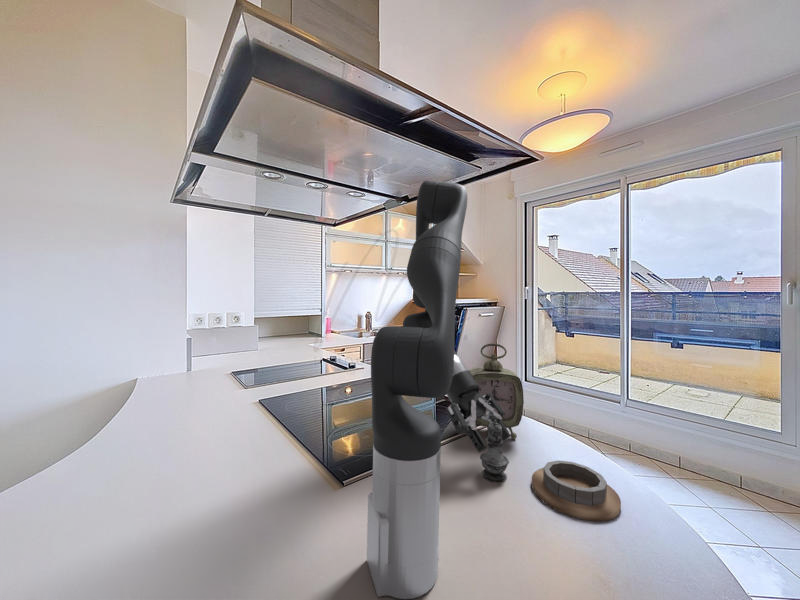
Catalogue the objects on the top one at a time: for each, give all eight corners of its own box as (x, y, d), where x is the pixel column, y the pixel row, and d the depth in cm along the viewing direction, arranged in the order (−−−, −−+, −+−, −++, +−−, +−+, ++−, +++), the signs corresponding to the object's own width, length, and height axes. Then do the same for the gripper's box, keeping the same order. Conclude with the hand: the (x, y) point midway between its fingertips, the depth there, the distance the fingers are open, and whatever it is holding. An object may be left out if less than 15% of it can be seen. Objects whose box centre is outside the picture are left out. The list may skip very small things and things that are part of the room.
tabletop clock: (466, 438, 85) (468, 344, 85) (463, 425, 94) (465, 340, 94) (522, 442, 83) (525, 347, 83) (514, 428, 92) (516, 342, 92)
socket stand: (576, 529, 52) (577, 506, 52) (515, 479, 66) (515, 461, 66) (640, 510, 57) (641, 490, 57) (570, 467, 71) (571, 451, 71)
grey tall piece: (477, 479, 66) (479, 421, 66) (481, 465, 71) (482, 412, 71) (507, 486, 64) (509, 426, 64) (509, 471, 69) (510, 416, 69)
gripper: (443, 373, 69) (486, 445, 61) (482, 365, 78) (525, 427, 70) (425, 391, 74) (463, 461, 65) (465, 382, 83) (503, 442, 74)
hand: (495, 444), depth 67 cm, fingers open, 8 cm apart
